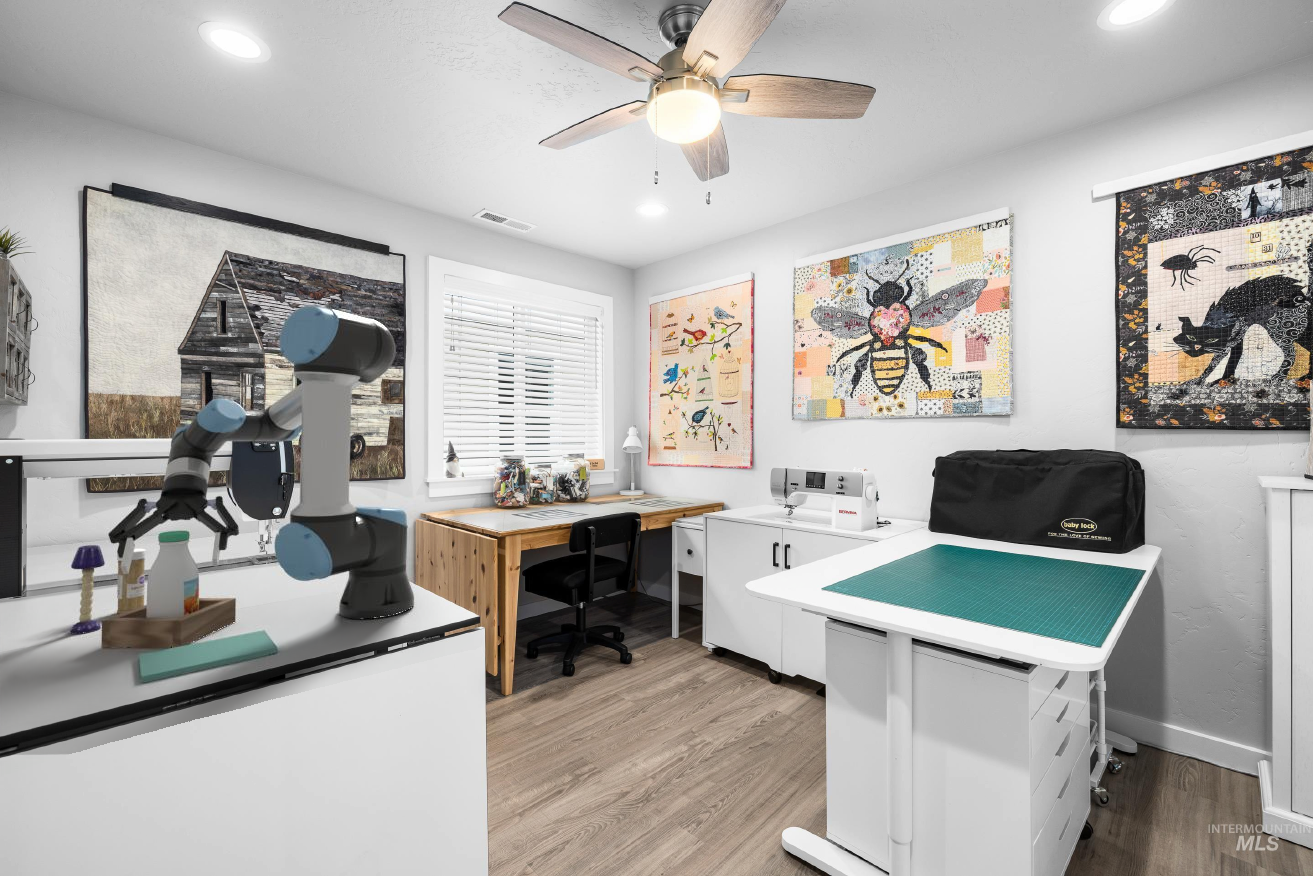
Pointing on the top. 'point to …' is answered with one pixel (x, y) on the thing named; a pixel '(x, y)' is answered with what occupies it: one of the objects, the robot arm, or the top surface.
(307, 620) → the top surface
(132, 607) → the sprinkles bottle
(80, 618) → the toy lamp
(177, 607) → the milk bottle
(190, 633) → the walnut holder
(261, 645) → the green mat
